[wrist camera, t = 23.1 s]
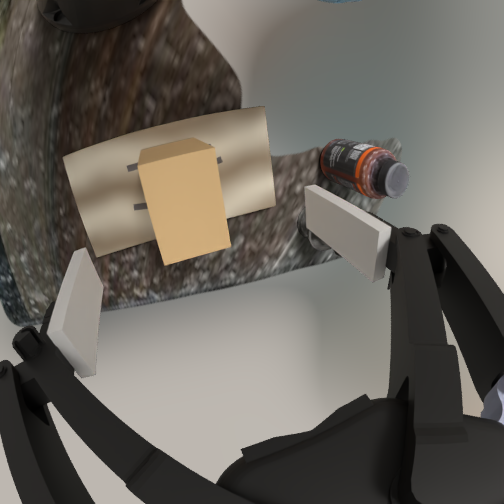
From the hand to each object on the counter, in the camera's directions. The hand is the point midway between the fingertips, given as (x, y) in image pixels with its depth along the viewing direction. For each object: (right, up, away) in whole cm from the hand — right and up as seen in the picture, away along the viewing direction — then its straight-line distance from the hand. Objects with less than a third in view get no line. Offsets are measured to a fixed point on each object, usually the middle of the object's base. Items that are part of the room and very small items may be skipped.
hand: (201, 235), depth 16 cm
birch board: (-6, +7, +14) cm, 17 cm away
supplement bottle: (+14, +11, +20) cm, 27 cm away
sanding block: (-5, +7, +13) cm, 15 cm away
